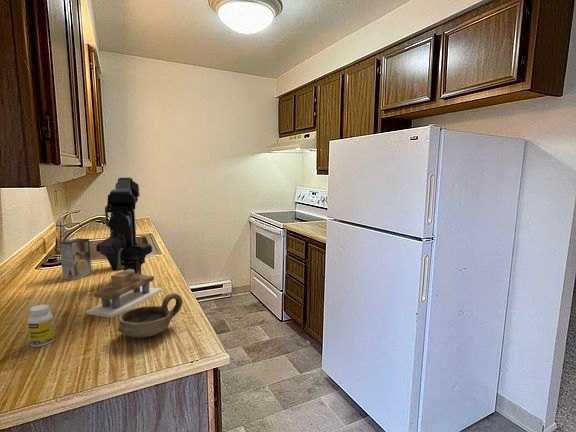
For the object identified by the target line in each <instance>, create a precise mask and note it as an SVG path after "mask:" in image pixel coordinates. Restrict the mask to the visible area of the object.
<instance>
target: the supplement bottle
mask: <svg viewBox="0 0 576 432" xmlns="http://www.w3.org/2000/svg"><path fill="white" fill-rule="evenodd" d="M29 314H30V315H29V317H28V318H27V328H28V329H27V331H28V332H27V333H28V341H29V346H30V347H35V348H37V347H43V346H46V345H49V344H51V343H52V342H53V341H54V340H55V339H56V338H55V324H54V315H53V313H52V312H50V306H49V305H48V304H39V305H38V304H37V305H35V306H32V307H30V309H29Z"/></svg>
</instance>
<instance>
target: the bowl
mask: <svg viewBox="0 0 576 432" xmlns="http://www.w3.org/2000/svg"><path fill="white" fill-rule="evenodd" d="M171 300H175V305H174V306H173V308H172V309H171V310H169V307H168V306H169V303H170V301H171ZM182 306H183V298H182V296H181V295H180V294H178V293H177V292H171V293H169V294H167V295H166V296H165V297H164V298H163V300H162V304H161V305H150V306H149V305H147V306H139V307H134V308H133V307H132V308H129V309H128V310H126V311H124V312H122V313H120V314H119V317H118V320H119V326H118V328H117V331H118V332H119V333H121V334H123V335H125V336H128V337H132V338H147V337H152V336H156V335H158V334H160V333H162V332H163V331H165V330H166V329H167V328H168V327H169V325H170V322H171V321H172V319H173V318H174V317H175V316H176V315H177V314H178V313H180V310H181V309H182Z"/></svg>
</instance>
